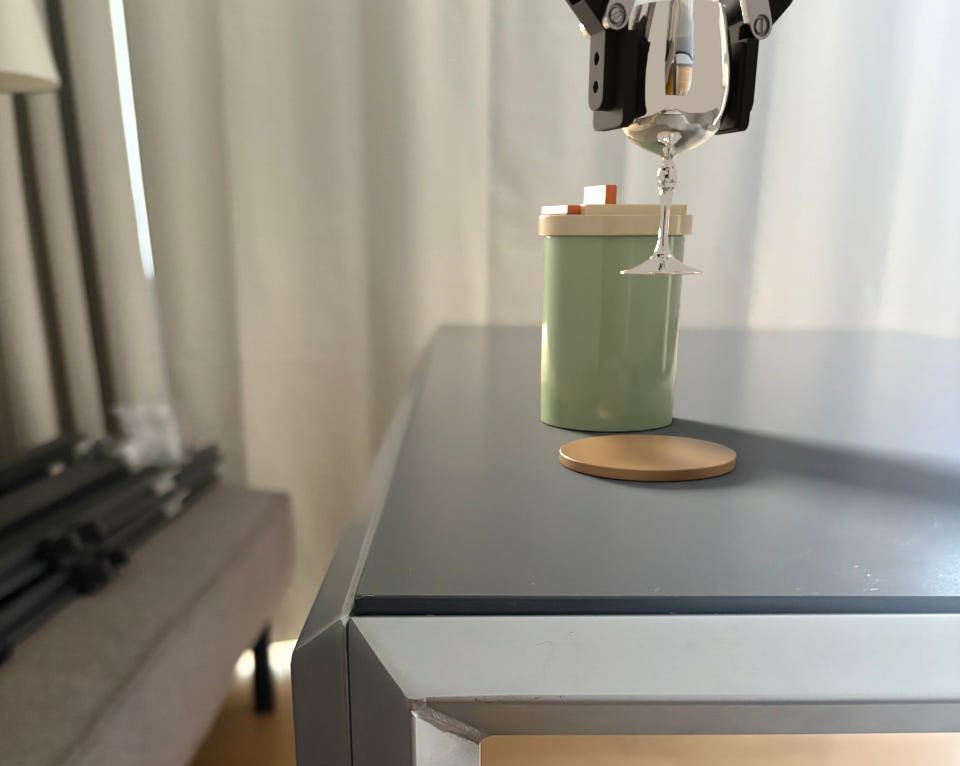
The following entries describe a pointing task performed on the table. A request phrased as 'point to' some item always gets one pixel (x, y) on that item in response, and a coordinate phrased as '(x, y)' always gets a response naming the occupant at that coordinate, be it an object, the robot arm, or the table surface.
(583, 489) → the table surface
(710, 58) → the wineglass
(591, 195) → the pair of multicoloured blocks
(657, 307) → the green storage canister
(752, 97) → the robot arm
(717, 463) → the coaster
